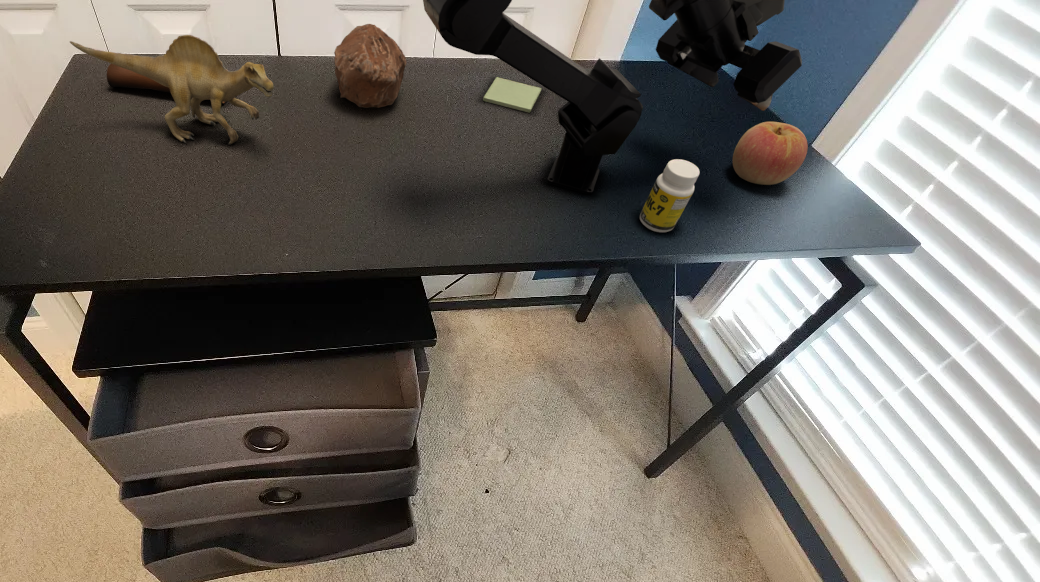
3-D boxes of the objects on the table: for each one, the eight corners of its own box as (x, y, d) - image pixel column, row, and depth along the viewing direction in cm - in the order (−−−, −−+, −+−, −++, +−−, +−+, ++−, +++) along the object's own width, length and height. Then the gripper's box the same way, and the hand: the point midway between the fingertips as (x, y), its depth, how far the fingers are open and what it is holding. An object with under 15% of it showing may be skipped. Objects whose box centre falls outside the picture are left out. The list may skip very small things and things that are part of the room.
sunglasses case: (239, 78, 96) (226, 50, 89) (230, 118, 95) (217, 93, 88) (131, 63, 97) (111, 34, 90) (121, 102, 96) (100, 77, 89)
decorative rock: (340, 74, 100) (340, 9, 93) (406, 81, 100) (411, 17, 92) (327, 113, 92) (325, 46, 84) (399, 121, 92) (404, 55, 84)
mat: (529, 113, 96) (530, 109, 96) (482, 100, 98) (483, 97, 97) (540, 91, 101) (541, 88, 101) (495, 80, 103) (496, 76, 102)
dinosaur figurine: (278, 158, 84) (268, 61, 73) (98, 130, 85) (64, 31, 75) (293, 130, 88) (286, 35, 78) (123, 103, 90) (93, 7, 79)
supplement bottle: (632, 213, 81) (656, 158, 75) (661, 209, 82) (688, 154, 76) (651, 236, 78) (678, 181, 72) (681, 231, 79) (711, 176, 73)
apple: (790, 199, 86) (825, 149, 80) (728, 189, 86) (757, 139, 80) (776, 166, 91) (808, 117, 85) (718, 157, 92) (745, 107, 86)
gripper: (832, -31, 62) (851, 67, 73) (703, -62, 75) (736, 26, 85) (744, 58, 66) (775, 140, 76) (635, 15, 78) (674, 90, 89)
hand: (739, 95), depth 82 cm, fingers open, 9 cm apart
